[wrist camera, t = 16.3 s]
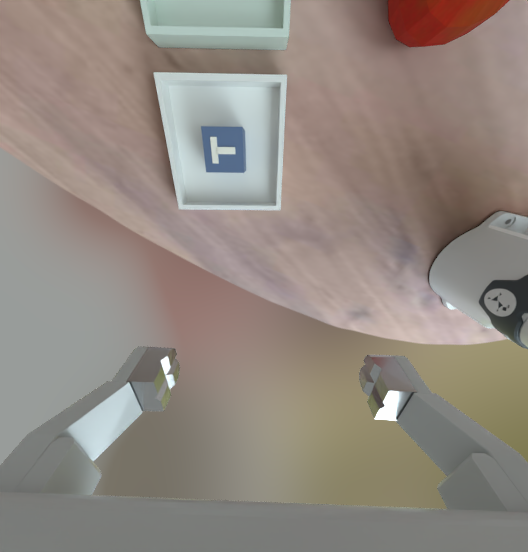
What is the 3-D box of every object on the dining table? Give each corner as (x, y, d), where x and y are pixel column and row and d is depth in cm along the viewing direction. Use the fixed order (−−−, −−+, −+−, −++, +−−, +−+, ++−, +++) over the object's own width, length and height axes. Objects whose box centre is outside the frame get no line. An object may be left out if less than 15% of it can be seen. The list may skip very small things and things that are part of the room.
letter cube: (245, 130, 27) (242, 126, 23) (246, 170, 29) (243, 172, 25) (209, 130, 27) (200, 126, 23) (213, 169, 29) (205, 172, 25)
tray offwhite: (284, 83, 25) (287, 74, 23) (278, 205, 32) (280, 210, 30) (164, 80, 25) (153, 72, 22) (185, 204, 32) (178, 209, 29)
